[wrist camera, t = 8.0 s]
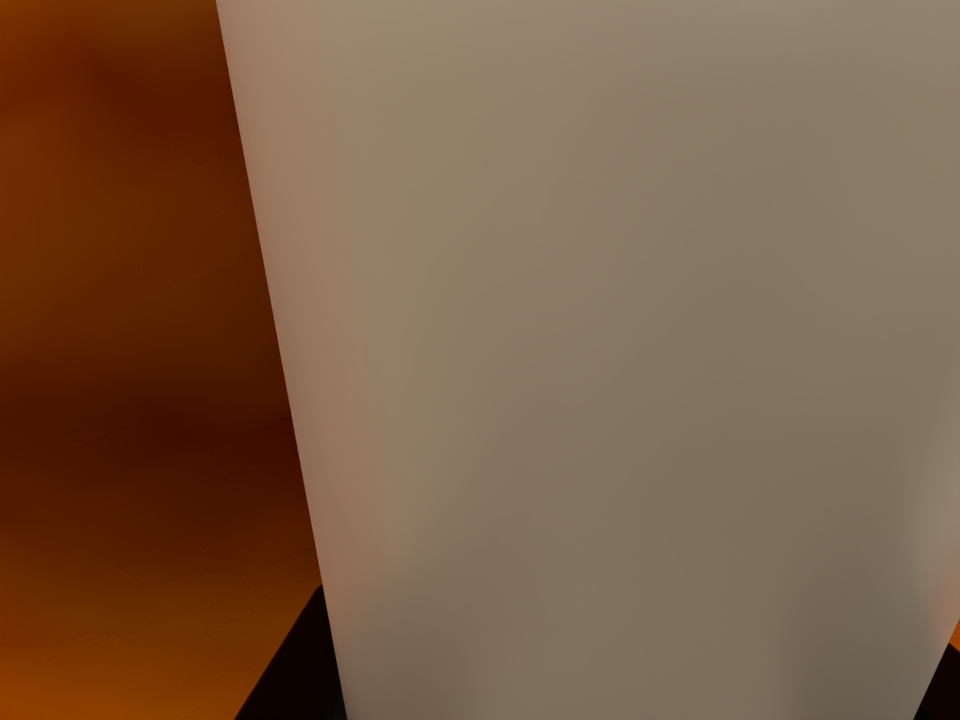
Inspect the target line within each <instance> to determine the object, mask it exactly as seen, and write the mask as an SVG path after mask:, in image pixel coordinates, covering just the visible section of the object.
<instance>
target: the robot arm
mask: <svg viewBox="0 0 960 720" xmlns="http://www.w3.org/2000/svg"><path fill="white" fill-rule="evenodd" d="M234 720H347V715H346V710H345V704H344V699H343V693H342V688H341V682H340V677H339V671H338V666H337V661H336V655H335V650H334V644H333V639H332V633H331V628H330V622H329V617H328V611H327V606H326V600H325V595H324V589H323V584H322V585H320V586H319V587H318V588H317V589H316V590H315V592H314V593H313V595H312V596H311V598H310V599H309V601H308V603H307V604H306V606H305V607H304V609H303V610H302V612H301V614H300V615H299V617H298V618H297V620H296V622H295V623H294V625H293V626H292V628H291V630H290V631H289V633H288V634H287V636H286V638H285V639H284V641H283V642H282V644H281V645H280V647H279V649H278V650H277V652H276V653H275V655H274V657H273V658H272V660H271V661H270V663H269V665H268V666H267V668H266V669H265V671H264V672H263V674H262V676H261V677H260V679H259V680H258V682H257V684H256V685H255V687H254V688H253V690H252V692H251V693H250V695H249V696H248V698H247V700H246V701H245V703H244V704H243V706H242V707H241V709H240V711H239V712H238V714H237V715H236V717H235V719H234ZM913 720H960V652H959V651H958V650H957V649H956V648H955V647H953V646H952V645H951V644H950V643H949V642H948V645H947V647H946V649H945V651H944V653H943V655H942V658H941V660H940V662H939V664H938V666H937V668H936V671H935V673H934V675H933V677H932V679H931V682H930V684H929V686H928V688H927V690H926V692H925V695H924V697H923V699H922V701H921V703H920V706H919V708H918V710H917V712H916V714H915V716H914V719H913Z"/></svg>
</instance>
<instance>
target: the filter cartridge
mask: <svg viewBox="0 0 960 720" xmlns="http://www.w3.org/2000/svg"><path fill="white" fill-rule="evenodd" d="M216 5H217V10H218V16H219V21H220V27H221V32H222V38H223V43H224V49H225V54H226V59H227V65H228V70H229V76H230V81H231V87H232V92H233V98H234V103H235V109H236V114H237V120H238V125H239V130H240V136H241V141H242V147H243V152H244V158H245V163H246V169H247V174H248V180H249V185H250V191H251V196H252V202H253V207H254V212H255V218H256V223H257V229H258V234H259V240H260V245H261V251H262V256H263V262H264V267H265V273H266V278H267V283H268V289H269V294H270V300H271V305H272V311H273V316H274V322H275V327H276V333H277V338H278V344H279V349H280V355H281V360H282V365H283V371H284V376H285V382H286V387H287V393H288V398H289V404H290V409H291V415H292V420H293V426H294V431H295V436H296V442H297V447H298V453H299V458H300V464H301V469H302V475H303V480H304V486H305V491H306V497H307V502H308V508H309V513H310V518H311V524H312V529H313V535H314V540H315V546H316V551H317V557H318V562H319V568H320V573H321V579H322V584H323V589H324V595H325V600H326V606H327V611H328V617H329V622H330V628H331V633H332V639H333V644H334V650H335V655H336V661H337V666H338V671H339V677H340V682H341V688H342V693H343V699H344V704H345V710H346V715H347V720H913V719H914V716H915V714H916V712H917V710H918V708H919V706H920V703H921V701H922V699H923V697H924V695H925V692H926V690H927V688H928V686H929V684H930V682H931V679H932V677H933V675H934V673H935V671H936V668H937V666H938V664H939V662H940V660H941V658H942V655H943V653H944V651H945V649H946V647H947V645H948V642H949V640H950V638H951V636H952V634H953V631H954V629H955V627H956V625H957V623H958V621H959V618H960V0H216Z"/></svg>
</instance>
